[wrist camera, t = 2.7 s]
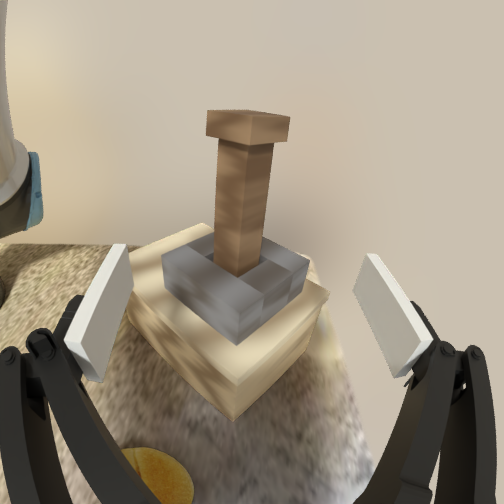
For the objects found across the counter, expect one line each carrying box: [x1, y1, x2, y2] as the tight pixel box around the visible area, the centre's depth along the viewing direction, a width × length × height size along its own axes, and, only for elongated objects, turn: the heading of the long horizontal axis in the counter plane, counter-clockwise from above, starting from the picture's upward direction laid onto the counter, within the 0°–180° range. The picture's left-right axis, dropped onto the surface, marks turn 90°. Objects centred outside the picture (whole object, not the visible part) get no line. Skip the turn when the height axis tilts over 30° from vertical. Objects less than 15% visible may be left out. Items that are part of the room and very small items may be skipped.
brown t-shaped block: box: [206, 110, 290, 278], centre depth 24 cm, size 4×4×17 cm
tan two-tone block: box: [126, 223, 330, 422], centre depth 31 cm, size 21×15×14 cm
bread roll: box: [121, 447, 194, 504], centre depth 17 cm, size 8×9×4 cm
